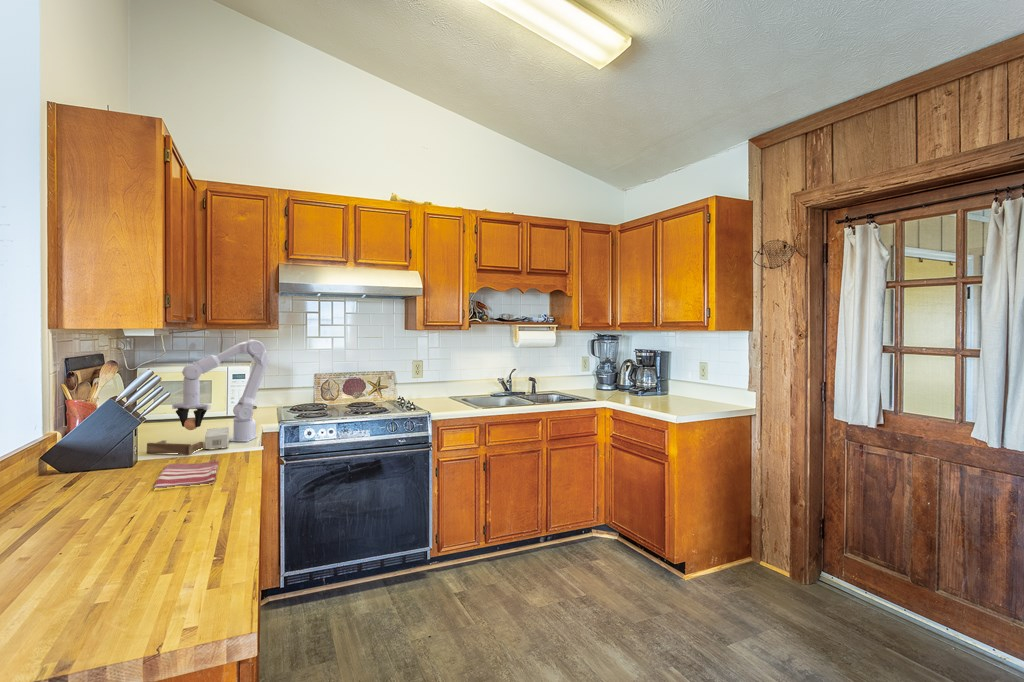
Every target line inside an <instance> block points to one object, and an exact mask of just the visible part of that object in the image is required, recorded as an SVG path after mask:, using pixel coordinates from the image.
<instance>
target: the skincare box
mask: <svg viewBox="0 0 1024 682" xmlns="http://www.w3.org/2000/svg"><path fill="white" fill-rule="evenodd" d="M229 428H230V427H228V426H226V427H225V426H224V427H217V428H207V430H206V433H205V436H204V445H205V449H209V450H211V449H210V448H221V449H223V448H222V447H228V448H229V442H230V441H229V440H230V431H229V430H230V429H229ZM205 449H204V450H205Z"/></svg>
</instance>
